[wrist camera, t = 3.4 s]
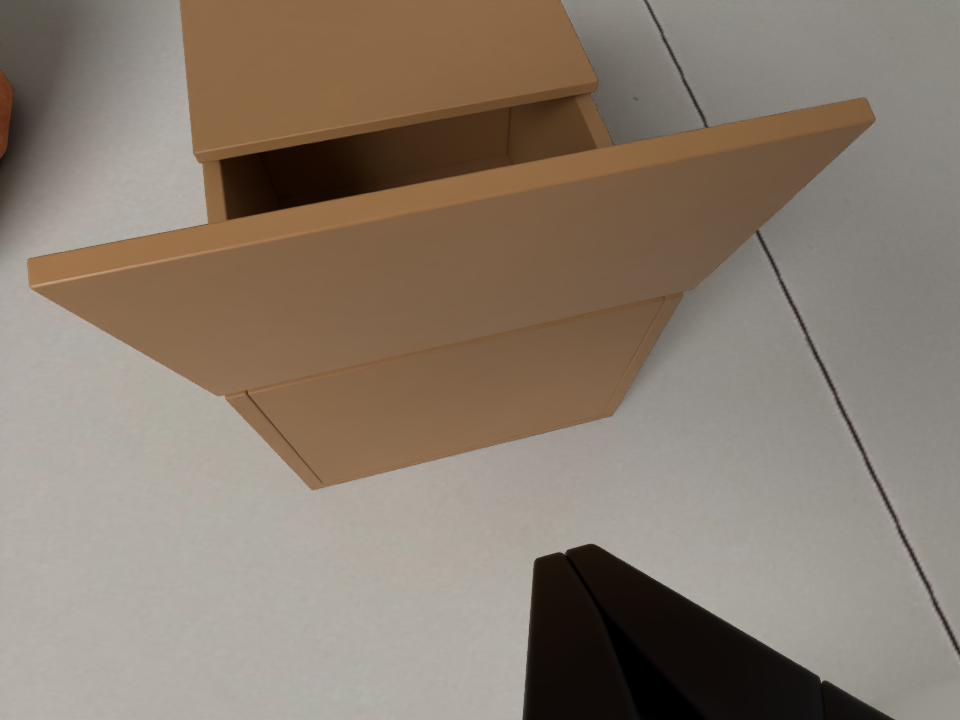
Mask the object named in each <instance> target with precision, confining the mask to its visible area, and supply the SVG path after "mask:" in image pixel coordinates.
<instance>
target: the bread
mask: <svg viewBox="0 0 960 720" xmlns="http://www.w3.org/2000/svg"><path fill="white" fill-rule="evenodd" d="M12 100H13V92H12V86H11V84H10V83H9V81H8V80H7V78H6V77H5V75H4V74H3V72H2V71H1V69H0V159H1V157H2V156H3V154H4V153H5V151H6V150H7V143H8V134H9V126H10V117H11V109H12Z"/></svg>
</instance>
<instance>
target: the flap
mask: <svg viewBox="0 0 960 720" xmlns="http://www.w3.org/2000/svg"><path fill="white" fill-rule="evenodd" d="M875 120H876V119H875V116H874V114H873V111H872V109H871V107H870V105H869V103H868V100H867V99H866V98H864V97H863V98H858V99H853V100H848V101H842V102H837V103H832V104H827V105H822V106H816V107H811V108H806V109H801V110H796V111H790V112H785V113H780V114H775V115H770V116H765V117H759V118H754V119H749V120H744V121H739V122H733V123H728V124H723V125H718V126H713V127H708V128H702V129H697V130H692V131H687V132H682V133H676V134H671V135H666V136H661V137H656V138H651V139H645V140H640V141H635V142H630V143H625V144H619V145H614V146H609V147H604V148H599V149H594V150H588V151H583V152H578V153H573V154H568V155H562V156H557V157H552V158H547V159H542V160H537V161H531V162H526V163H521V164H516V165H511V166H505V167H500V168H495V169H490V170H485V171H479V172H474V173H469V174H464V175H459V176H454V177H448V178H443V179H438V180H433V181H428V182H422V183H417V184H412V185H407V186H402V187H397V188H391V189H386V190H381V191H376V192H371V193H365V194H360V195H355V196H350V197H345V198H340V199H334V200H329V201H324V202H319V203H314V204H308V205H303V206H298V207H293V208H288V209H283V210H277V211H272V212H267V213H262V214H257V215H251V216H246V217H241V218H236V219H231V220H225V221H220V222H215V223H210V224H205V225H200V226H194V227H189V228H184V229H179V230H174V231H168V232H163V233H158V234H153V235H148V236H143V237H137V238H132V239H127V240H122V241H117V242H111V243H106V244H101V245H96V246H91V247H86V248H80V249H75V250H70V251H65V252H60V253H54V254H49V255H44V256H39V257H34V258H29V259H28V260H27V267H28V278H29V286H30V288H31V289H32V290H33V291H35V292H37V293H39V294H40V295H42V296H44V297H46V298H47V299H49V300H51V301H53V302H54V303H56V304H58V305H60V306H61V307H63V308H65V309H67V310H68V311H70V312H72V313H74V314H75V315H77V316H79V317H80V318H82V319H84V320H86V321H87V322H89V323H91V324H93V325H94V326H96V327H98V328H100V329H101V330H103V331H105V332H107V333H108V334H110V335H112V336H114V337H115V338H117V339H119V340H121V341H122V342H124V343H126V344H127V345H129V346H131V347H133V348H134V349H136V350H138V351H140V352H141V353H143V354H145V355H147V356H148V357H150V358H152V359H154V360H155V361H157V362H159V363H161V364H162V365H164V366H166V367H167V368H169V369H171V370H173V371H174V372H176V373H178V374H180V375H181V376H183V377H185V378H187V379H188V380H190V381H192V382H194V383H195V384H197V385H199V386H201V387H202V388H204V389H206V390H208V391H209V392H211V393H213V394H214V395H216V396H222V395H226V394H230V393H235V392H239V391H244V390H248V389H253V388H257V387H261V386H266V385H270V384H275V383H279V382H284V381H288V380H292V379H297V378H301V377H306V376H310V375H315V374H319V373H323V372H328V371H332V370H337V369H341V368H346V367H350V366H354V365H359V364H363V363H368V362H372V361H377V360H381V359H385V358H390V357H394V356H399V355H403V354H408V353H412V352H417V351H421V350H425V349H430V348H434V347H439V346H443V345H448V344H452V343H456V342H461V341H465V340H470V339H474V338H479V337H483V336H487V335H492V334H496V333H501V332H505V331H510V330H514V329H518V328H523V327H527V326H532V325H536V324H541V323H545V322H549V321H554V320H558V319H563V318H567V317H572V316H576V315H580V314H585V313H589V312H594V311H598V310H603V309H607V308H611V307H616V306H620V305H625V304H629V303H634V302H638V301H642V300H647V299H651V298H656V297H660V296H665V295H669V294H673V293H678V292H682V291H687V290H691V289H694V288H695V287H696V286H697V285H698V284H700V283H701V282H702V281H703V280H704V279H705V278H706V277H707V276H708V275H709V274H710V273H711V272H713V271H714V270H715V269H716V268H717V267H718V266H719V265H720V264H721V263H722V262H723V261H724V260H726V259H727V258H728V257H729V256H730V255H731V254H732V253H733V252H734V251H735V250H736V249H737V248H739V247H740V246H741V245H742V244H743V243H744V242H745V241H746V240H747V239H748V238H749V237H750V236H752V235H753V234H754V233H755V232H756V231H757V230H758V229H759V228H760V227H761V226H762V225H763V224H765V223H766V222H767V221H768V220H769V219H770V218H771V217H772V216H773V215H774V214H775V213H776V212H778V211H779V210H780V209H781V208H782V207H783V206H784V205H785V204H786V203H787V202H788V201H789V200H791V199H792V198H793V197H794V196H795V195H796V194H797V193H798V192H799V191H800V190H801V189H802V188H804V187H805V186H806V185H807V184H808V183H809V182H810V181H811V180H812V179H813V178H814V177H815V176H817V175H818V174H819V173H820V172H821V171H822V170H823V169H824V168H825V167H826V166H827V165H828V164H830V163H831V162H832V161H833V160H834V159H835V158H836V157H837V156H838V155H839V154H840V153H841V152H843V151H844V150H845V149H846V148H847V147H848V146H849V145H850V144H851V143H852V142H853V141H854V140H856V139H857V138H858V137H859V136H860V135H861V134H862V133H863V132H864V131H865V130H866V129H867V128H869V127H870V126H871V125H872V124H873V123H874V122H875Z"/></svg>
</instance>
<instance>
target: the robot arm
mask: <svg viewBox="0 0 960 720" xmlns="http://www.w3.org/2000/svg"><path fill="white" fill-rule="evenodd" d="M523 720H894V719H893V718H891V717H889V716H887V715H885V714H884V713H882V712H880V711H878V710H877V709H875V708H873V707H871V706H869V705H868V704H866V703H864V702H862V701H861V700H859V699H857V698H855V697H854V696H852V695H850V694H849V693H847V692H845V691H843V690H842V689H840V688H838V687H837V686H835V685H833V684H832V683H830V682H828V681H823V682H822V683H821V680H820V677H819V676H817V675H816V674H814V673H812V672H811V671H809V670H807V669H806V668H804V667H802V666H801V665H799V664H797V663H795V662H794V661H792V660H790V659H789V658H787V657H785V656H784V655H782V654H780V653H779V652H777V651H775V650H773V649H772V648H770V647H768V646H767V645H765V644H763V643H762V642H760V641H758V640H756V639H755V638H753V637H751V636H750V635H748V634H746V633H745V632H743V631H741V630H740V629H738V628H736V627H734V626H733V625H731V624H729V623H728V622H726V621H724V620H723V619H721V618H719V617H717V616H716V615H714V614H712V613H711V612H709V611H707V610H706V609H704V608H702V607H701V606H699V605H697V604H695V603H694V602H692V601H690V600H689V599H687V598H685V597H684V596H682V595H680V594H678V593H677V592H675V591H673V590H672V589H670V588H668V587H667V586H665V585H663V584H662V583H660V582H658V581H656V580H655V579H653V578H651V577H650V576H648V575H646V574H645V573H643V572H641V571H639V570H638V569H636V568H634V567H633V566H631V565H629V564H628V563H626V562H624V561H623V560H621V559H619V558H617V557H616V556H614V555H612V554H611V553H609V552H607V551H606V550H604V549H602V548H600V547H599V546H597V545H595V544H587V545H583V546H579V547H576V548H572V549H569V550H567V551H566V553H565V555H564V554H563V553H560V552H558V553H554V554H550V555H547V556H543V557H539V558H537V559H536V560H535V561H534V568H533V582H532V596H531V610H530V624H529V637H528V651H527V665H526V679H525V693H524V707H523Z"/></svg>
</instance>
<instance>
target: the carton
mask: <svg viewBox="0 0 960 720" xmlns="http://www.w3.org/2000/svg"><path fill="white" fill-rule="evenodd" d="M180 10H181V21H182V32H183V43H184V55H185V66H186V77H187V88H188V99H189V110H190V121H191V132H192V144H193V153H194V155H195V157H196V159H197V161H198V162H199V163H202V165H203V175H204V185H205V195H206V206H207V216H208V224H210V223H215V222H220V221H225V220H231V219H236V218H241V217H246V216H251V215H257V214H262V213H267V212H272V211H277V210H283V209H288V208H293V207H298V206H303V205H308V204H314V203H319V202H324V201H329V200H334V199H340V198H345V197H350V196H355V195H360V194H365V193H371V192H376V191H381V190H386V189H391V188H397V187H402V186H407V185H412V184H417V183H422V182H428V181H433V180H438V179H443V178H448V177H454V176H459V175H464V174H469V173H474V172H479V171H485V170H490V169H495V168H500V167H505V166H511V165H516V164H521V163H526V162H531V161H537V160H542V159H547V158H552V157H557V156H562V155H568V154H573V153H578V152H583V151H588V150H594V149H599V148H604V147H609V146H614V144H613V142H612V140H611V137H610V135H609V133H608V131H607V129H606V127H605V124H604V122H603V120H602V118H601V116H600V113H599V111H598V109H597V107H596V105H595V103H594V100H593V98H592V96H591V94H590V93H591V92H595V91H596V90H597V85H598V78H597V76H596V74H595V72H594V70H593V68H592V66H591V64H590V61H589V59H588V57H587V55H586V53H585V51H584V49H583V47H582V45H581V43H580V40H579V38H578V36H577V34H576V32H575V30H574V28H573V26H572V24H571V21H570V19H569V17H568V15H567V13H566V11H565V9H564V7H563V5H562V2H561V0H180ZM682 297H683V294H682V292H678V293H673V294H669V295H665V296H660V297H656V298H651V299H647V300H642V301H638V302H634V303H629V304H625V305H620V306H616V307H611V308H607V309H603V310H598V311H594V312H589V313H585V314H580V315H576V316H572V317H567V318H563V319H558V320H554V321H549V322H545V323H541V324H536V325H532V326H527V327H523V328H518V329H514V330H510V331H505V332H501V333H496V334H492V335H487V336H483V337H479V338H474V339H470V340H465V341H461V342H456V343H452V344H448V345H443V346H439V347H434V348H430V349H425V350H421V351H417V352H412V353H408V354H403V355H399V356H394V357H390V358H385V359H381V360H377V361H372V362H368V363H363V364H359V365H354V366H350V367H346V368H341V369H337V370H332V371H328V372H323V373H319V374H315V375H310V376H306V377H301V378H297V379H292V380H288V381H284V382H279V383H275V384H270V385H266V386H261V387H257V388H253V389H248V390H244V391H239V392H235V393H230V394H226V395H225V399H226V400H227V401H228V402H229V403H230V404H231V406H232V407H233V408H234V409H235V410H236V411H237V412H238V413H239V414H240V415H241V416H242V417H243V418H244V419H245V420H246V421H247V422H248V423H249V424H250V426H251V427H252V428H253V429H254V430H255V431H256V432H257V433H258V434H259V435H260V436H261V437H262V438H263V439H264V440H265V441H266V442H267V443H268V444H269V446H270V447H271V448H272V449H273V450H274V451H275V452H276V453H277V454H278V455H279V456H280V457H281V458H282V459H283V460H284V461H285V462H286V463H287V464H288V466H289V467H290V468H291V469H292V470H293V471H294V472H295V473H296V474H297V475H298V476H299V477H300V478H301V479H302V480H303V481H304V482H305V483H306V484H307V486H309V488H310V489H311V490H315V489H319V488H323V487H327V486H331V485H335V484H339V483H343V482H347V481H351V480H355V479H359V478H363V477H367V476H371V475H375V474H379V473H384V472H388V471H392V470H396V469H400V468H404V467H408V466H412V465H416V464H420V463H424V462H428V461H432V460H436V459H440V458H444V457H448V456H452V455H456V454H460V453H464V452H468V451H472V450H476V449H480V448H484V447H488V446H492V445H497V444H501V443H505V442H509V441H513V440H517V439H521V438H525V437H529V436H533V435H537V434H541V433H545V432H549V431H553V430H557V429H561V428H565V427H569V426H573V425H577V424H581V423H585V422H589V421H593V420H597V419H601V418H606V417H610V416H612V415H613V413H614V412H615V410H616V408H617V407H618V405H619V403H620V402H621V400H622V398H623V397H624V395H625V393H626V392H627V390H628V388H629V386H630V385H631V383H632V381H633V380H634V378H635V376H636V375H637V373H638V371H639V370H640V368H641V366H642V364H643V363H644V361H645V359H646V358H647V356H648V354H649V353H650V351H651V349H652V348H653V346H654V344H655V343H656V341H657V339H658V337H659V336H660V334H661V332H662V331H663V329H664V327H665V326H666V324H667V322H668V321H669V319H670V317H671V315H672V314H673V312H674V310H675V309H676V307H677V305H678V304H679V302H680V300H681V299H682Z"/></svg>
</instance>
